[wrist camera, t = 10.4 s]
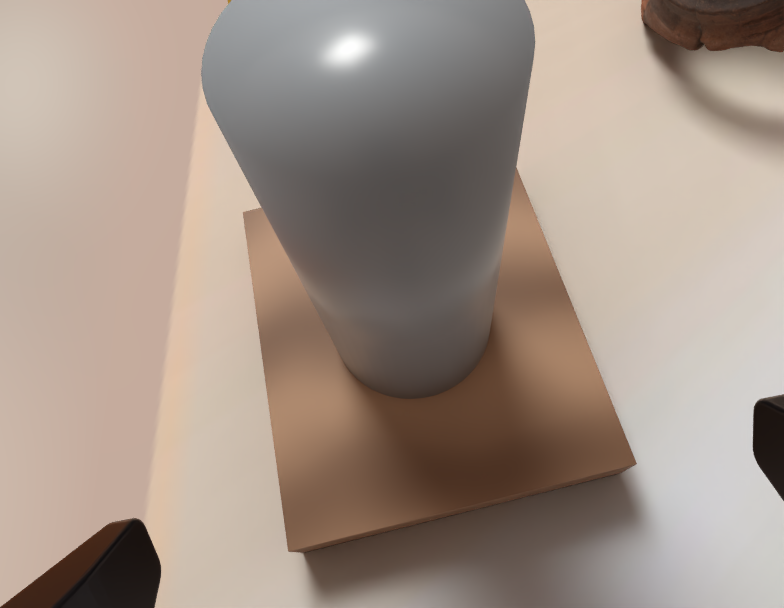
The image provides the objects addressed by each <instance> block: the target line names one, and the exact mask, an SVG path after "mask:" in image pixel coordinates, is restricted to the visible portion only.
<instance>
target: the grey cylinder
mask: <svg viewBox="0 0 784 608" xmlns="http://www.w3.org/2000/svg"><path fill="white" fill-rule="evenodd" d="M534 48H535V34H534V25H533V21H532V18H531V14H530V11H529V9H528V6H527V4H526V2H525V0H231V2H230V3H229V4H228V5H227V7H226V8H225V9H224V10H223V12H222V13H221V15H220V16H219V18H218V19H217V21H216V23H215V24H214V26H213V28H212V30H211V33H210V35H209V37H208V40H207V43H206V46H205V50H204V54H203V58H202V70H201V76H202V86H203V91H204V95H205V98H206V101H207V104H208V106H209V108H210V110H211V112H212V114H213V116H214V118H215V120H216V122H217V124H218V126H219V128H220V130H221V132H222V133H223V135H224V137H225V139H226V141H227V143H228V145H229V147H230V149H231V150H232V152H233V154H234V156H235V158H236V160H237V162H238V164H239V166H240V167H241V169H242V171H243V173H244V175H245V177H246V179H247V181H248V183H249V184H250V186H251V188H252V190H253V192H254V194H255V196H256V198H257V200H258V201H259V203H260V205H261V207H262V209H263V211H264V213H265V215H266V217H267V218H268V220H269V222H270V224H271V226H272V228H273V230H274V232H275V234H276V235H277V237H278V239H279V241H280V243H281V245H282V247H283V249H284V251H285V252H286V254H287V256H288V258H289V260H290V262H291V264H292V266H293V268H294V269H295V271H296V273H297V275H298V277H299V279H300V281H301V283H302V285H303V286H304V288H305V290H306V292H307V294H308V296H309V298H310V300H311V302H312V303H313V305H314V307H315V309H316V311H317V313H318V315H319V317H320V319H321V320H322V322H323V324H324V326H325V328H326V330H327V332H328V334H329V336H330V337H331V339H332V341H333V343H334V345H335V347H336V349H337V351H338V353H339V354H340V356H341V358H342V360H343V362H344V364H345V365H346V367H347V368H348V369H349V371H350V372H351V373H352V374H353V375H354V376H355V377H356V378H357V379H358V380H359V381H360V382H362V383H363V384H364V385H366V386H367V387H369V388H371V389H372V390H374V391H376V392H379V393H381V394H384V395H387V396H391V397H396V398H402V399H417V398H426V397H430V396H434V395H437V394H440V393H442V392H445V391H447V390H449V389H451V388H452V387H454V386H456V385H457V384H459V383H460V382H461V381H463V380H464V379H465V378H466V377H467V376H468V375H469V374H470V373H471V372H472V371H473V370H474V368H475V367H476V366H477V365H478V363H479V361H480V360H481V358H482V356H483V354H484V351H485V349H486V346H487V343H488V339H489V333H490V327H491V321H492V315H493V308H494V302H495V296H496V290H497V283H498V277H499V271H500V265H501V258H502V252H503V246H504V240H505V233H506V227H507V221H508V215H509V208H510V202H511V196H512V190H513V183H514V177H515V171H516V165H517V158H518V152H519V146H520V140H521V133H522V127H523V121H524V115H525V108H526V102H527V96H528V90H529V83H530V77H531V71H532V65H533V58H534Z"/></svg>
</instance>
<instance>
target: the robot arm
mask: <svg viewBox="0 0 784 608" xmlns="http://www.w3.org/2000/svg"><path fill="white" fill-rule="evenodd" d="M753 452H754V456H755V459H756V461H757V463H758V465H759V467H760V468H761V470H762V471H763V473H764V474H765V475H766V477H767V478H768V480H769V481H770V482H771V484H772V485H773V487H774V488H775V489H776V491H777V492H778V494H779V495H780V496H781V498H782V499H783V501H784V394H783V395H778V396H773V397H768V398H763V399H760V400H758V401H757V402H756V404H755V406H754V415H753ZM160 578H161V565H160V561H159V558H158V555H157V553H156V550H155V548H154V546H153V543H152V541H151V539H150V536H149V534H148V532H147V529H146V527H145V525H144V523H143V522H142V521H141V520H139V519H137V518H132V519H127V520H121V521H116V522H112V523H109V524H108V525H106V526H105V527H104V528H102V529H101V530H100V531H99V532H97V533H96V534H95V535H93V536H92V537H91V538H89V539H88V540H87V541H85V542H84V543H83V544H82V545H80V546H79V547H78V548H76V549H75V550H74V551H72V552H71V553H70V554H69V555H67V556H66V557H65V558H63V559H62V560H61V561H59V562H58V563H57V564H56V565H54V566H53V567H52V568H50V569H49V570H48V571H47V572H45V573H44V574H43V575H42V576H40V577H39V578H38V579H36V580H35V581H34V582H32V583H31V584H30V585H28V586H27V587H26V588H25V589H23V590H22V591H21V592H19V593H18V594H17V595H16V596H14V597H13V598H11V599H10V600H9V601H8V602H6V603H5V604H4V605H3V606H1V607H0V608H154V607H155V602H156V598H157V593H158V588H159V584H160Z"/></svg>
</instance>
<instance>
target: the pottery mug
mask: <svg viewBox="0 0 784 608" xmlns="http://www.w3.org/2000/svg"><path fill="white" fill-rule="evenodd" d="M641 16H642V21H643V22H644V23H645V24H647V25H648V26H649V27H650V28H651V29H652V30H653V31H655V32H656V33H658V34H659V35H661V36H662V37H664V38H665V39H667V40H669V41H671V42H672V43H675V44H678V45H680V46H682V47H684V48H686V49H688V50H698V49H699V48H701V47H702V46H703V45H705V46H706V48H707V49H708V50H710V51H718V50H726V49H730V48H737V47H743V46H761V47H765V48H766V49H768V50H771V51H777V52H783V50H784V0H642V4H641Z"/></svg>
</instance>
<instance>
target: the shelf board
mask: <svg viewBox="0 0 784 608" xmlns="http://www.w3.org/2000/svg"><path fill="white" fill-rule="evenodd" d="M243 217H244V224H245V232H246V239H247V247H248V254H249V262H250V269H251V277H252V284H253V291H254V299H255V306H256V314H257V321H258V329H259V336H260V344H261V351H262V359H263V366H264V374H265V381H266V388H267V396H268V403H269V411H270V418H271V426H272V433H273V441H274V448H275V456H276V463H277V471H278V478H279V486H280V493H281V500H282V508H283V515H284V523H285V530H286V538H287V545H288V551H289V552H300V553H304V552H308V551H312V550H316V549H320V548H324V547H328V546H332V545H336V544H339V543H343V542H347V541H351V540H355V539H359V538H363V537H367V536H371V535H375V534H379V533H383V532H387V531H391V530H395V529H399V528H403V527H407V526H411V525H415V524H419V523H423V522H427V521H431V520H435V519H439V518H443V517H447V516H451V515H455V514H459V513H463V512H467V511H471V510H475V509H479V508H483V507H487V506H491V505H495V504H499V503H503V502H507V501H511V500H515V499H519V498H523V497H527V496H531V495H535V494H539V493H543V492H547V491H551V490H555V489H559V488H563V487H567V486H571V485H575V484H579V483H583V482H586V481H590V480H594V479H598V478H602V477H606V476H610V475H614V474H618V473H622V472H623V471H625V470H627V469H629V468H630V467H632V466H634V465H636V464H637V463H636V461H635V458H634V456H633V454H632V451H631V449H630V446H629V444H628V441H627V439H626V436H625V434H624V431H623V429H622V426H621V424H620V422H619V419H618V417H617V414H616V412H615V409H614V407H613V404H612V402H611V399H610V397H609V394H608V392H607V389H606V387H605V385H604V382H603V380H602V377H601V375H600V372H599V370H598V367H597V365H596V362H595V360H594V357H593V355H592V353H591V350H590V348H589V345H588V343H587V340H586V338H585V335H584V333H583V330H582V328H581V325H580V323H579V321H578V318H577V316H576V313H575V311H574V308H573V306H572V303H571V301H570V298H569V296H568V293H567V291H566V289H565V286H564V284H563V281H562V279H561V276H560V274H559V271H558V269H557V266H556V264H555V261H554V259H553V257H552V254H551V252H550V249H549V247H548V244H547V242H546V239H545V237H544V234H543V232H542V229H541V227H540V225H539V222H538V220H537V217H536V215H535V212H534V210H533V207H532V205H531V202H530V200H529V197H528V195H527V193H526V190H525V188H524V185H523V183H522V180H521V178H520V175H519V173H518V170H517V168H516V171H515V177H514V183H513V190H512V196H511V202H510V208H509V215H508V221H507V227H506V233H505V240H504V246H503V252H502V258H501V265H500V271H499V277H498V283H497V290H496V296H495V302H494V308H493V315H492V321H491V327H490V333H489V339H488V343H487V346H486V349H485V351H484V354H483V356H482V358H481V360H480V361H479V363H478V365H477V366H476V367H475V368H474V370H473V371H472V372H471V373H470V374H469V375H468V376H467V377H466V378H465V379H464V380H463V381H461V382H460V383H459V384H457V385H456V386H454V387H452V388H451V389H449V390H447V391H445V392H442V393H440V394H437V395H434V396H430V397H426V398H417V399H402V398H396V397H391V396H387V395H384V394H381V393H379V392H376V391H374V390H372V389H371V388H369V387H367V386H366V385H364V384H363V383H362V382H360V381H359V380H358V379H357V378H356V377H355V376H354V375H353V374H352V373H351V372H350V371H349V369H348V368H347V367H346V365H345V364H344V362H343V360H342V358H341V356H340V354H339V353H338V351H337V349H336V347H335V345H334V343H333V341H332V339H331V337H330V336H329V334H328V332H327V330H326V328H325V326H324V324H323V322H322V320H321V319H320V317H319V315H318V313H317V311H316V309H315V307H314V305H313V303H312V302H311V300H310V298H309V296H308V294H307V292H306V290H305V288H304V286H303V285H302V283H301V281H300V279H299V277H298V275H297V273H296V271H295V269H294V268H293V266H292V264H291V262H290V260H289V258H288V256H287V254H286V252H285V251H284V249H283V247H282V245H281V243H280V241H279V239H278V237H277V235H276V234H275V232H274V230H273V228H272V226H271V224H270V222H269V220H268V218H267V217H266V215H265V213H264V211H263V209H262V208H258V209H254V210H250V211H246V212H243Z"/></svg>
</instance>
